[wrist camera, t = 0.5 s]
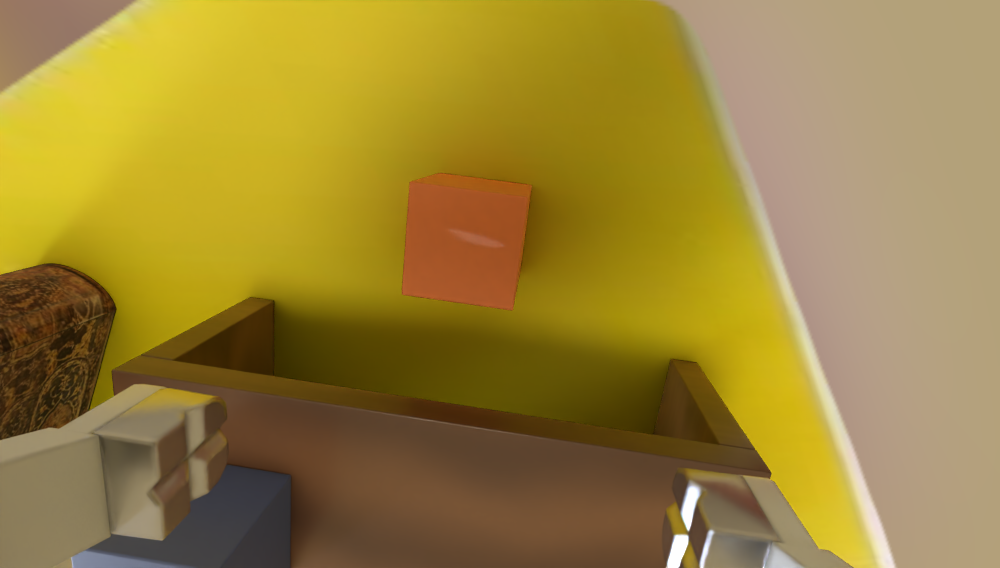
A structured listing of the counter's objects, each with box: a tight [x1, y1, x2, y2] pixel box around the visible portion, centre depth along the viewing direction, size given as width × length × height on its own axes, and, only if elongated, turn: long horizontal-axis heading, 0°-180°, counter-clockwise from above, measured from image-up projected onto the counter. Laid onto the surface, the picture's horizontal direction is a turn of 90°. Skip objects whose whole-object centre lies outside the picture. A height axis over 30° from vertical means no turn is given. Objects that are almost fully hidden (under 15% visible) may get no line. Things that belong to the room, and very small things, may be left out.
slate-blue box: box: [71, 465, 291, 568], centre depth 20 cm, size 5×5×5 cm
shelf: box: [112, 297, 771, 568], centre depth 26 cm, size 12×26×10 cm, turn 83°
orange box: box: [402, 173, 532, 310], centre depth 25 cm, size 5×5×6 cm
